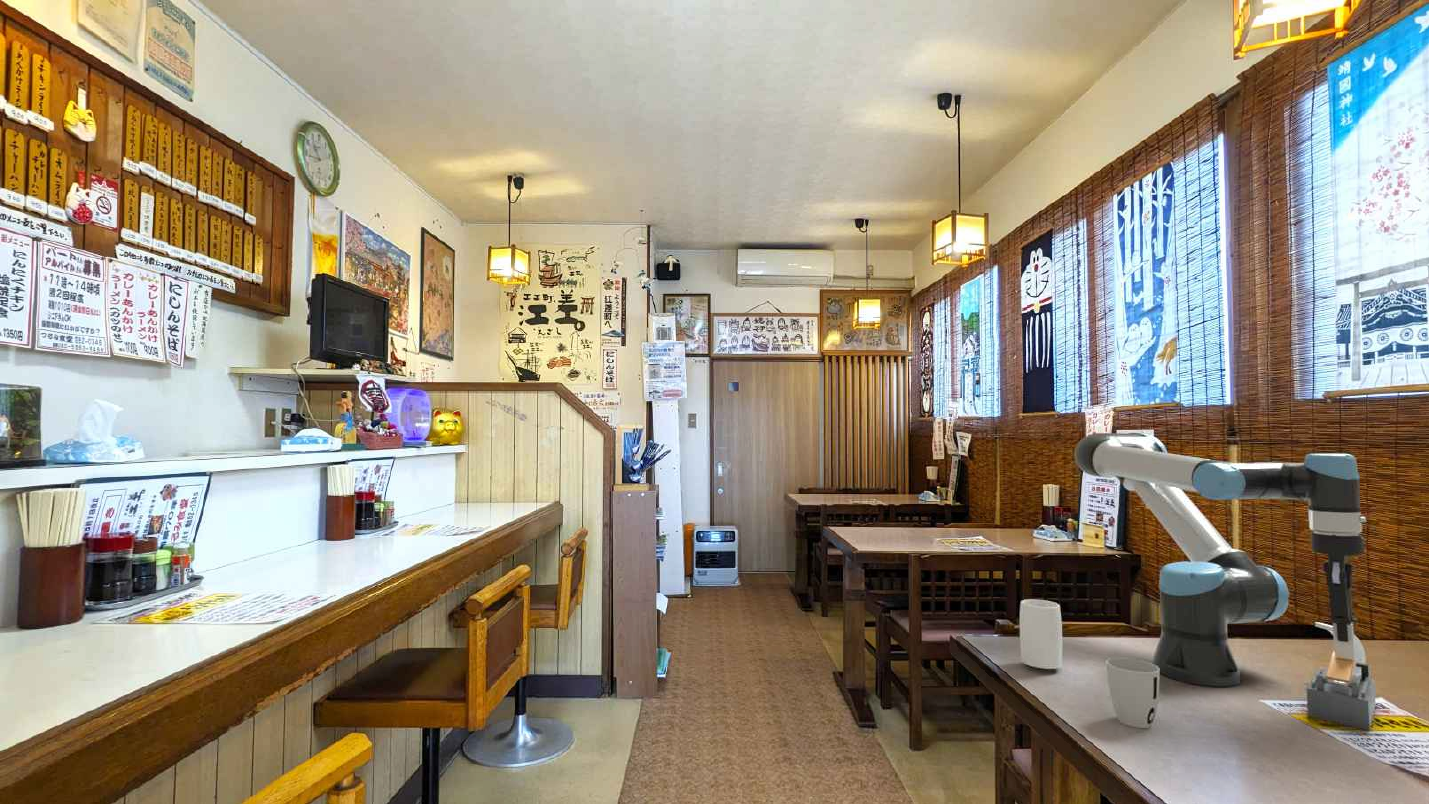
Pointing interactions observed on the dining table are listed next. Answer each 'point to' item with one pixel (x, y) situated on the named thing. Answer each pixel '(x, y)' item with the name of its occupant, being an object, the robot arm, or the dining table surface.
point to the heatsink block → (1342, 699)
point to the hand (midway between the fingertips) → (1345, 656)
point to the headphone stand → (1358, 649)
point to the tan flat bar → (1340, 669)
